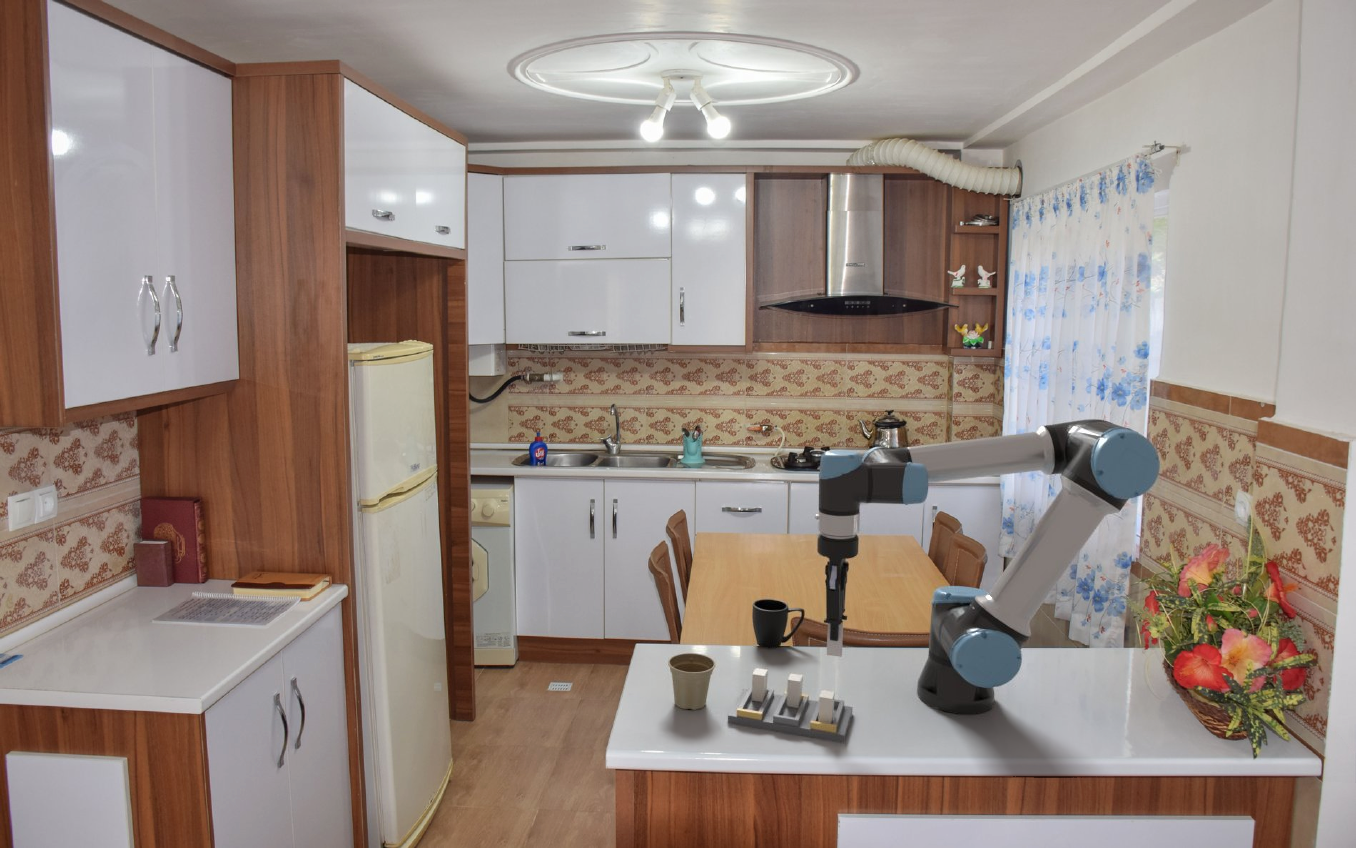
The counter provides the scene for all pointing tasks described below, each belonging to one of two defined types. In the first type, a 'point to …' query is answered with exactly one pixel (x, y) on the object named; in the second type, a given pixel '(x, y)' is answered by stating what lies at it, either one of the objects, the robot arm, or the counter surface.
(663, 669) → the counter surface
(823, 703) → the tab
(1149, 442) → the robot arm
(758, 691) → the tab
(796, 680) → the tab
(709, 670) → the flower pot
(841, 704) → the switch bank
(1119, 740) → the counter surface
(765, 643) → the mug
